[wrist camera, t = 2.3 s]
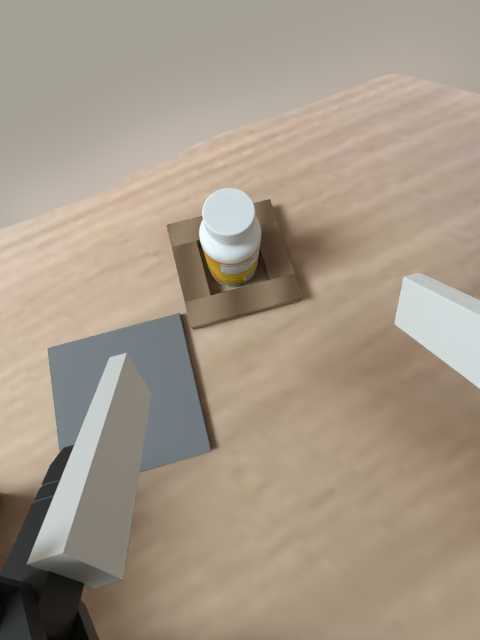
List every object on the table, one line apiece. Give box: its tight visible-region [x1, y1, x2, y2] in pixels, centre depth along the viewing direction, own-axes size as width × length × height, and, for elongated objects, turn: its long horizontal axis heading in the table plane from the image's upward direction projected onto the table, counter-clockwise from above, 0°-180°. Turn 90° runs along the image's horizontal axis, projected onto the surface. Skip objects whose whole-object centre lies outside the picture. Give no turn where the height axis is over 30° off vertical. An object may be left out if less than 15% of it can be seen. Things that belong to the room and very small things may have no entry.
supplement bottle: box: [199, 188, 261, 287], centre depth 23 cm, size 5×5×10 cm
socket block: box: [167, 199, 303, 330], centre depth 27 cm, size 12×12×1 cm
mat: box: [48, 313, 211, 472], centre depth 24 cm, size 14×14×1 cm
